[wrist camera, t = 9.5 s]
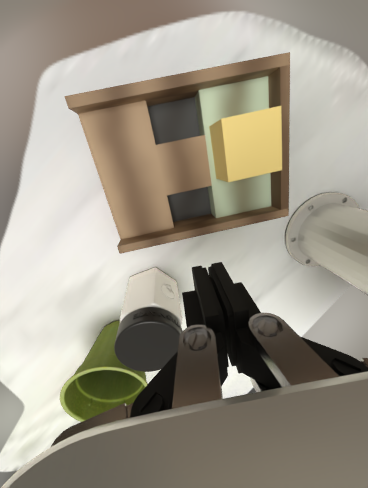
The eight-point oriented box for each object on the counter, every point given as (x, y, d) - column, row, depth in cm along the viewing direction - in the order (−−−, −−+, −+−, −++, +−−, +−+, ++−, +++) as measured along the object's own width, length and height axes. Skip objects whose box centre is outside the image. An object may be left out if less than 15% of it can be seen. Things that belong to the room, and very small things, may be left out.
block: (258, 115, 24) (281, 105, 20) (260, 168, 27) (282, 170, 22) (209, 126, 24) (221, 118, 20) (216, 178, 27) (228, 182, 22)
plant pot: (146, 303, 36) (141, 360, 26) (157, 351, 41) (157, 416, 30) (77, 315, 35) (44, 379, 25) (97, 362, 40) (75, 433, 30)
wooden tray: (263, 73, 25) (289, 52, 20) (267, 207, 32) (288, 215, 27) (83, 109, 25) (64, 96, 20) (125, 238, 31) (119, 253, 26)
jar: (187, 286, 36) (200, 341, 25) (158, 316, 38) (158, 381, 27) (144, 258, 33) (138, 307, 22) (116, 293, 35) (96, 355, 24)
